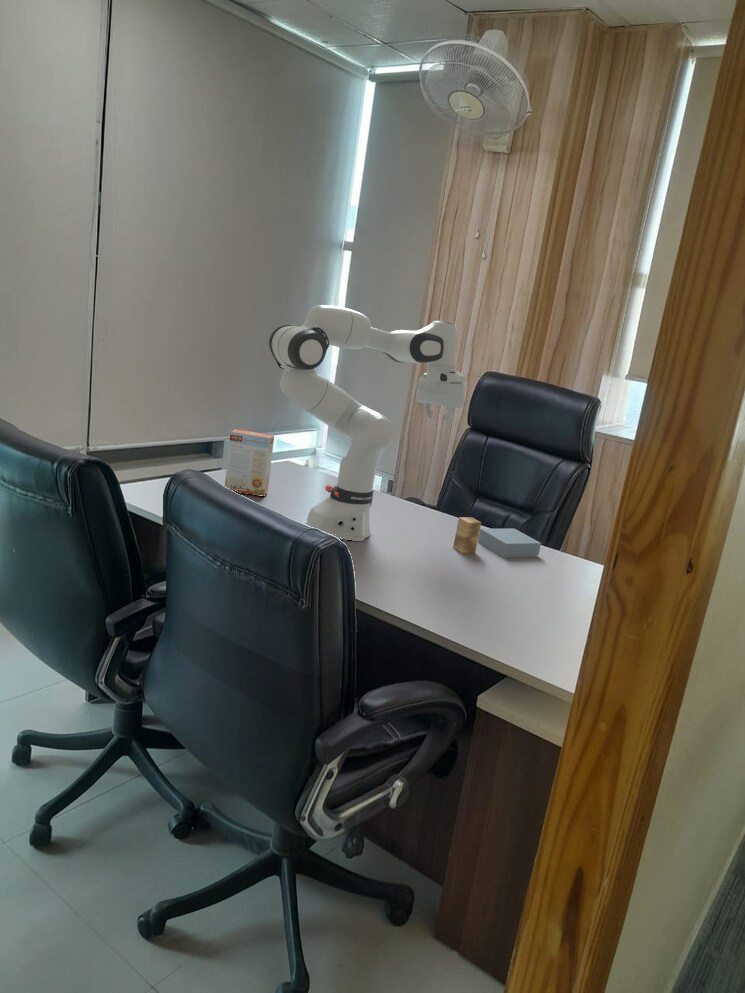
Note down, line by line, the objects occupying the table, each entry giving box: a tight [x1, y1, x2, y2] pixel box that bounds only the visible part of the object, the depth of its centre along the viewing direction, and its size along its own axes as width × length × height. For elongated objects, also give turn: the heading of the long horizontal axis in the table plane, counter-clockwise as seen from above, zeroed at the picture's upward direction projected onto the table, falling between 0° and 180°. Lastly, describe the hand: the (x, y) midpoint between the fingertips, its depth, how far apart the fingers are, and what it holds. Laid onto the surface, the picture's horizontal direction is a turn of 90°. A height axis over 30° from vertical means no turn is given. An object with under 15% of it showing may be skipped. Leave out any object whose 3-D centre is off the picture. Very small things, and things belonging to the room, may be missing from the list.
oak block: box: [452, 516, 482, 554], centre depth 244 cm, size 5×5×10 cm
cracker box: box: [224, 428, 275, 496], centre depth 267 cm, size 14×6×21 cm, turn 84°
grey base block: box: [477, 528, 542, 559], centre depth 253 cm, size 14×14×5 cm
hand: (437, 419), depth 246 cm, fingers open, 8 cm apart
